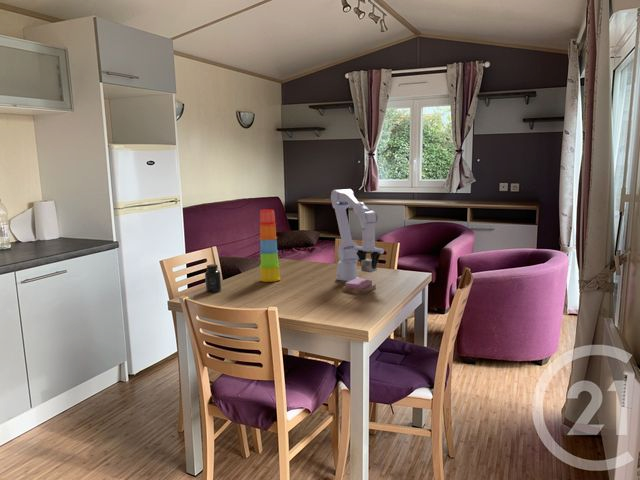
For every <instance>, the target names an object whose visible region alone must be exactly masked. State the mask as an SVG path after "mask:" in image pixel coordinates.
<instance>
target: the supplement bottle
mask: <svg viewBox="0 0 640 480" xmlns="http://www.w3.org/2000/svg"><path fill="white" fill-rule="evenodd" d="M206 270H207V271H206V272H205V273H204V275H205V276H204V280H205V281H204V282H205V291H206V292H207V293H211V294H212V293H213V294H215V293H219V292H221V290H222V279H221V276H222V275H221V272H220V270H219V268H218V264H215V263H214V264H208V265H207V264H206Z"/></svg>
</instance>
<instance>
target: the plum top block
mask: <svg viewBox="0 0 640 480" xmlns="http://www.w3.org/2000/svg"><path fill="white" fill-rule="evenodd" d="M372 284H373V280H372V279H369V278H368V279H367V278H361V277H360V278H355V279H353V280H351V281H345V282H344V286H345V287H348V288H354V289H363V288H365V287H367V286H369V285H372Z"/></svg>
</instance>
